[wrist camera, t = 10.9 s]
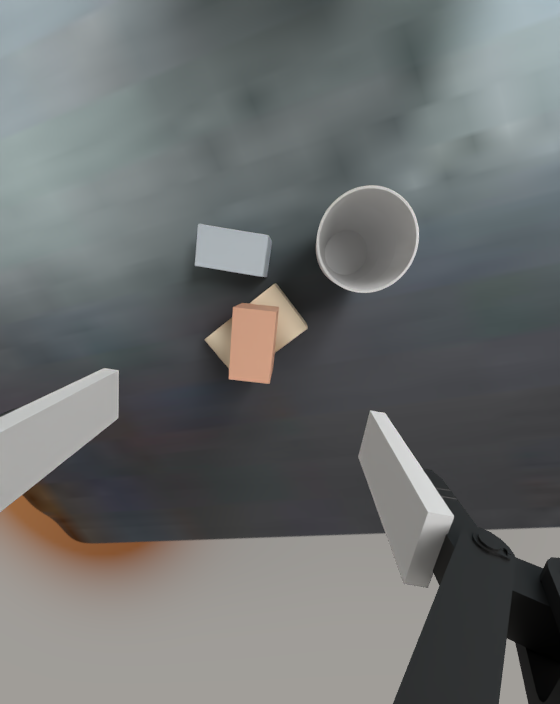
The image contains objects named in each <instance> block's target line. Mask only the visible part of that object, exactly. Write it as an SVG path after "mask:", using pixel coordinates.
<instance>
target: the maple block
mask: <svg viewBox="0 0 560 704" xmlns="http://www.w3.org/2000/svg"><path fill="white" fill-rule="evenodd" d="M249 304H257V305H266V306H276V307H279V313H278V323H277V333H276V343H275V352H277V351H278V350H279V349H281V348H282V347H283V346H285V345H286V344H287V343H289V342H290V341H291V340H293V339H294V338H295V337H297V336H298V335H300V334H301V333H302V332H304V331H305V330H306V329H308V326H307V323H306V322H305V320H304V319H303V318H302V317H301V315H300V314H299V313H298V311H297V310H296V309H295V307H294V306H293V305H292V303H291V302H290V301H289V299H288V298H287V297H286V295H285V294H284V293H283V291H282V290H281V289H280V287H279V286H278V285H277V283H275V284H273V285H272V286H271V287H269V288H268V289H267V290H266V291H264V292H263V293H262V294H261V295H259V296H258V297H257V298H256V299H254V300H253V301H252V302H251V303H249ZM231 332H232V318H231V319H229V320H228V321H227V322H226V323H225V324H223V325H222V326H221V327H220V328H218V329H217V330H216V331H215V332H213V333H212V334H211V335H210V336H208V337H207V338H206V339H205V341H206V342H207V343H208V345H209V346H210V347H211V348H212V349H213V350H214V352H215V353H216V354H217V355H218V356H219V358H220V359H221V360H222V361H223V362H224V364H225V365H226V366H227V367H228V368H229V365H230V349H231Z"/></svg>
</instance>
